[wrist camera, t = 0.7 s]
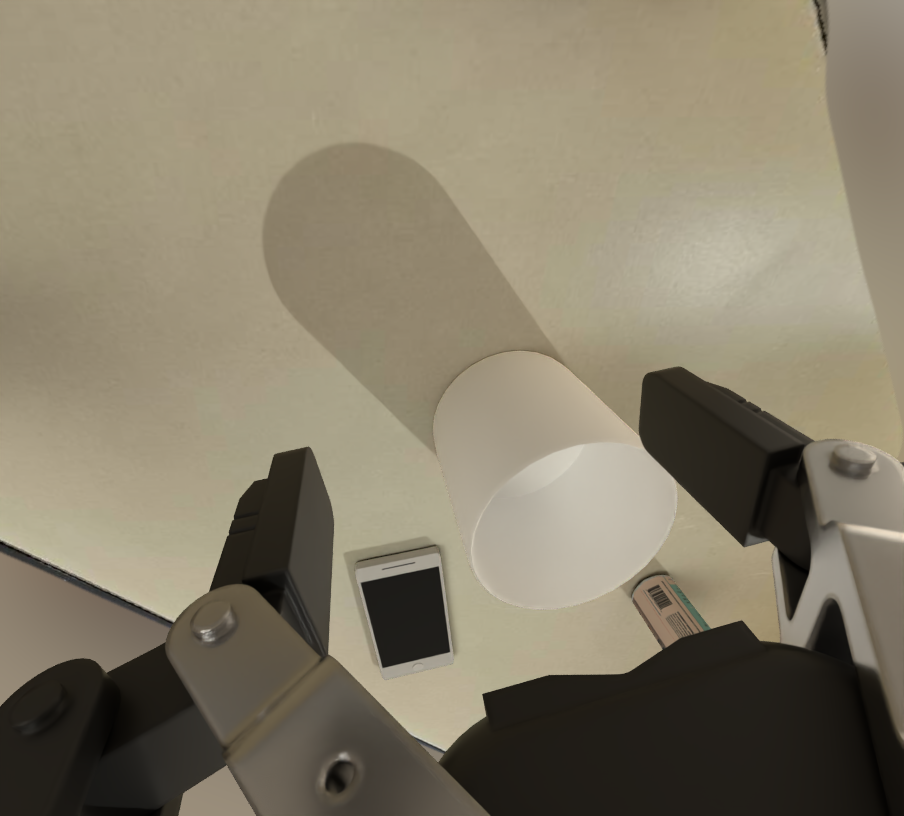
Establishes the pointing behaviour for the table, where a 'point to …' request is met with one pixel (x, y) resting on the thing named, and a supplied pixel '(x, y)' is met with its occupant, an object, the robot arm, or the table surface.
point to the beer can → (666, 610)
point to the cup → (547, 483)
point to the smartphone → (406, 611)
